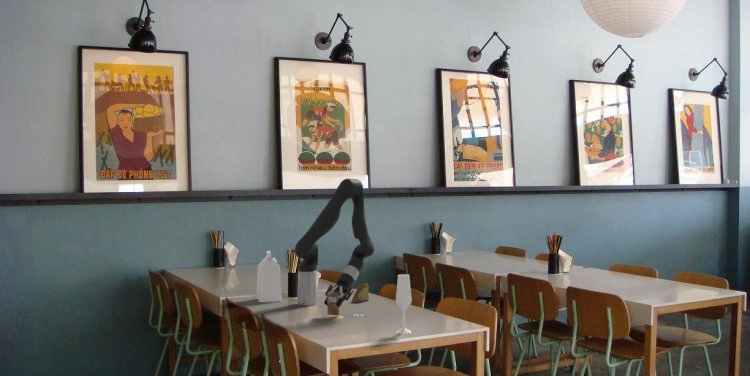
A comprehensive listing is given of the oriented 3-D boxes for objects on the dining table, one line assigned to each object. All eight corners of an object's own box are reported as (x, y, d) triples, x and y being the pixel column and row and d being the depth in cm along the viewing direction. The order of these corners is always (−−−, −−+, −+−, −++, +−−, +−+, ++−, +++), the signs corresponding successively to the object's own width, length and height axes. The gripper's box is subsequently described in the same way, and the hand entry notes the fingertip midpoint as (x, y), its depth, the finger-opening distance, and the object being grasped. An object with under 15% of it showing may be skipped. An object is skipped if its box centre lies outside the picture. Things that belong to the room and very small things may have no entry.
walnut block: (327, 315, 334) (327, 293, 334) (329, 313, 339) (329, 291, 339) (338, 315, 334) (338, 293, 334) (339, 313, 339) (339, 291, 339)
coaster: (322, 319, 333) (322, 318, 333) (325, 316, 342) (325, 315, 342) (342, 320, 332) (342, 319, 332) (344, 316, 341) (344, 315, 341)
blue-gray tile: (344, 318, 336) (344, 317, 336) (347, 313, 348) (347, 312, 348) (370, 318, 335) (370, 317, 335) (372, 313, 347) (372, 312, 347)
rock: (353, 299, 376) (371, 295, 378) (349, 284, 381) (367, 281, 383) (351, 308, 385) (369, 305, 387) (347, 294, 390) (365, 291, 392)
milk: (256, 299, 392) (256, 250, 392) (277, 297, 396) (277, 250, 395) (259, 302, 381) (259, 253, 381) (281, 301, 384) (281, 252, 384)
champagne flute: (411, 330, 308) (410, 273, 308) (412, 333, 301) (412, 276, 301) (395, 330, 308) (395, 274, 308) (396, 334, 301) (396, 276, 301)
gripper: (333, 270, 347) (316, 298, 338) (355, 273, 338) (338, 302, 329) (341, 280, 351) (324, 308, 342) (363, 283, 342) (346, 311, 333)
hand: (331, 305), depth 335 cm, fingers closed on walnut block, 7 cm apart
